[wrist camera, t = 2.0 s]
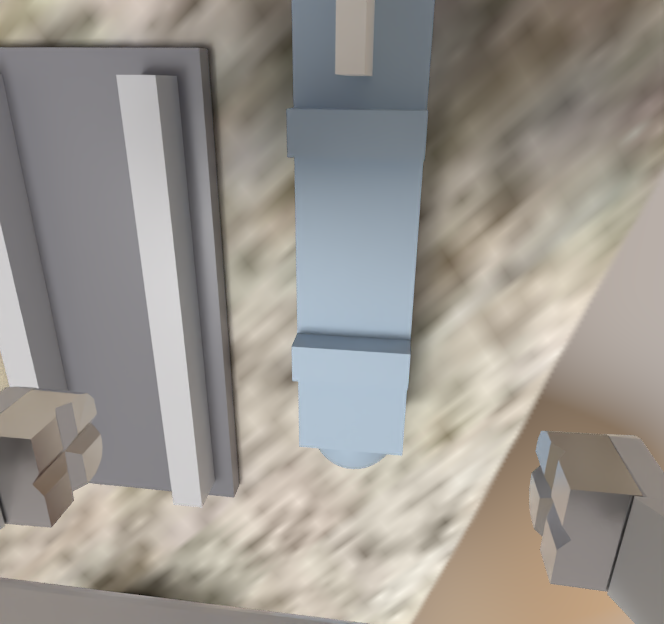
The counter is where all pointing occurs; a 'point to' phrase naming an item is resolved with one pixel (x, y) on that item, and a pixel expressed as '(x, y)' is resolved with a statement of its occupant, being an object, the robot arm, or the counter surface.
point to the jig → (119, 257)
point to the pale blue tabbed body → (356, 217)
